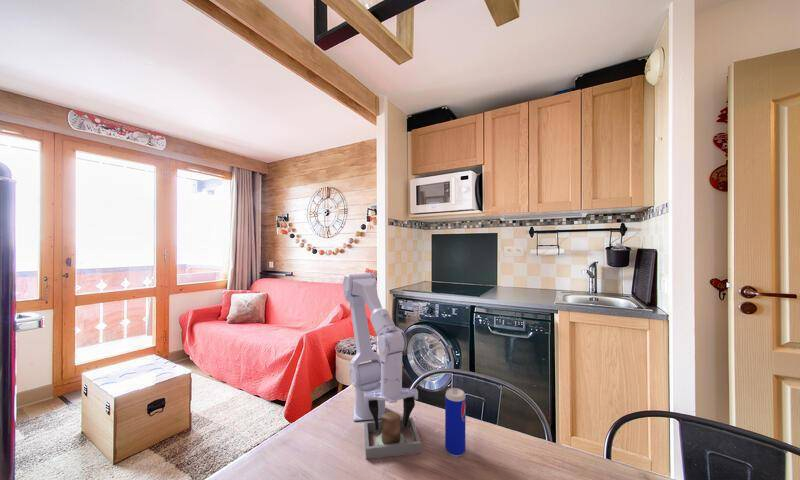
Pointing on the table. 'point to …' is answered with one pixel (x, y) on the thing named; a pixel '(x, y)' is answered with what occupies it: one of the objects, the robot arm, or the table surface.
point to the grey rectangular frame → (391, 448)
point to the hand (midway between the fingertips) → (391, 426)
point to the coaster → (379, 442)
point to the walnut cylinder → (390, 428)
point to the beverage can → (455, 421)
